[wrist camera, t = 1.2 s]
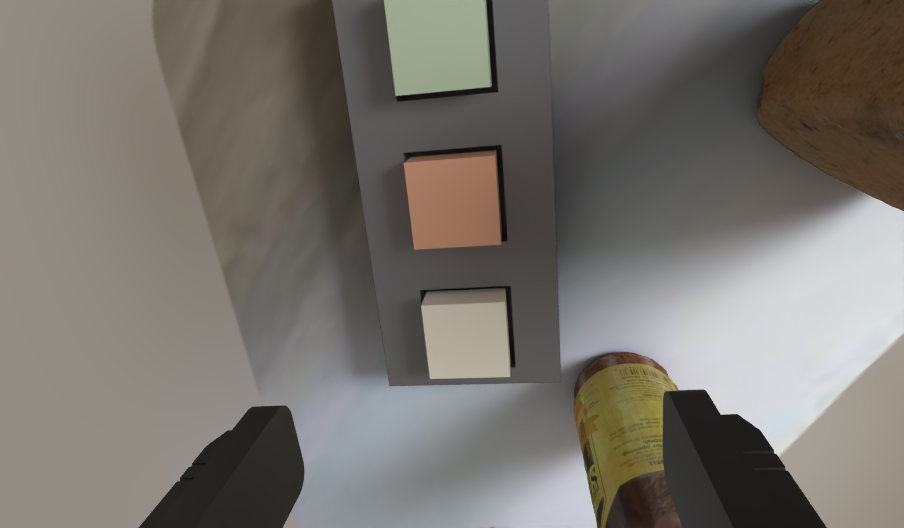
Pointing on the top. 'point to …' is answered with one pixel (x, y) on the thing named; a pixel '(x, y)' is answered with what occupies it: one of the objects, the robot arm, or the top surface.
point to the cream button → (466, 333)
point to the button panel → (447, 132)
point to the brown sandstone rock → (842, 94)
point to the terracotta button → (454, 200)
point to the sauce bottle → (625, 440)
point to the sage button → (438, 45)
